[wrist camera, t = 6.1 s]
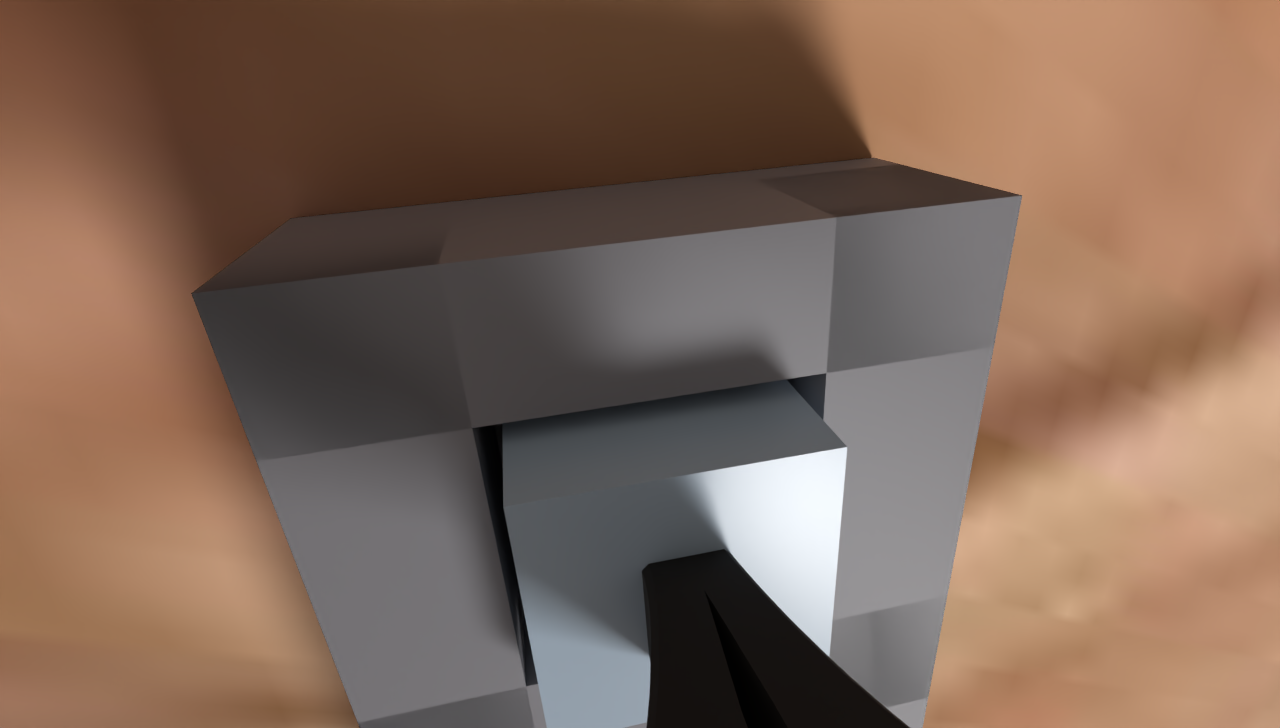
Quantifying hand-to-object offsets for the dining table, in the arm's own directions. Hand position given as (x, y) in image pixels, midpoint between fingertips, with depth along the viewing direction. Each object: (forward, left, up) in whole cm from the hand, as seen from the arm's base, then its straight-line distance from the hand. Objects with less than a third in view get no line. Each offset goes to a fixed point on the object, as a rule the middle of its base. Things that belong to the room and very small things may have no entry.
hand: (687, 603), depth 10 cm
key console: (-5, 0, -6) cm, 8 cm away
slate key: (0, 0, -4) cm, 4 cm away
